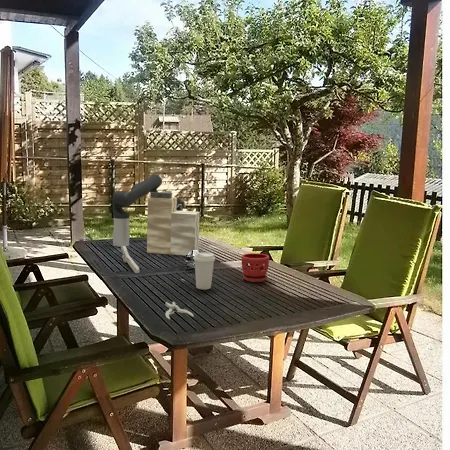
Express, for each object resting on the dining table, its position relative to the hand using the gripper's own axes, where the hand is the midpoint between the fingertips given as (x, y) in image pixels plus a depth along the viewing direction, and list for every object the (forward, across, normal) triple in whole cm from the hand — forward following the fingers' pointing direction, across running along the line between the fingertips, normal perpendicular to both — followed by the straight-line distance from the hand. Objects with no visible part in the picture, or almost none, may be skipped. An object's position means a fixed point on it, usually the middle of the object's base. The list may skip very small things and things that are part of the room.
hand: (171, 199), depth 290 cm
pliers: (+86, +33, +85) cm, 125 cm away
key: (+15, 0, +5) cm, 16 cm away
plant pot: (+42, +59, +58) cm, 93 cm away
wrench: (+36, -6, +55) cm, 66 cm away
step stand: (+2, +7, +35) cm, 36 cm away
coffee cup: (+58, +38, +68) cm, 97 cm away
